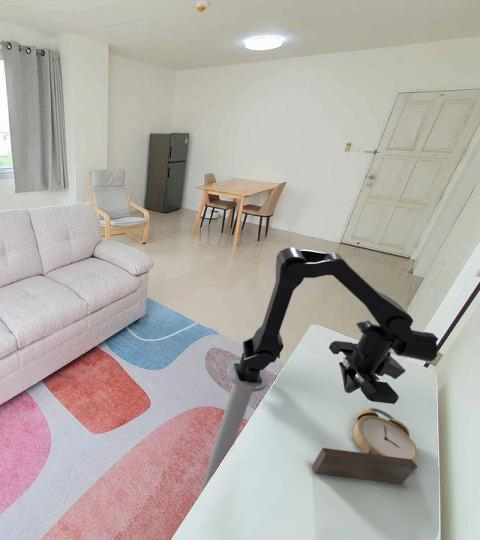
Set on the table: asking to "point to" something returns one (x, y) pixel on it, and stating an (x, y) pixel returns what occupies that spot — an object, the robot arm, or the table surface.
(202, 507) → the table surface
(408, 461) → the shelf back
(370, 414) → the alarm clock
